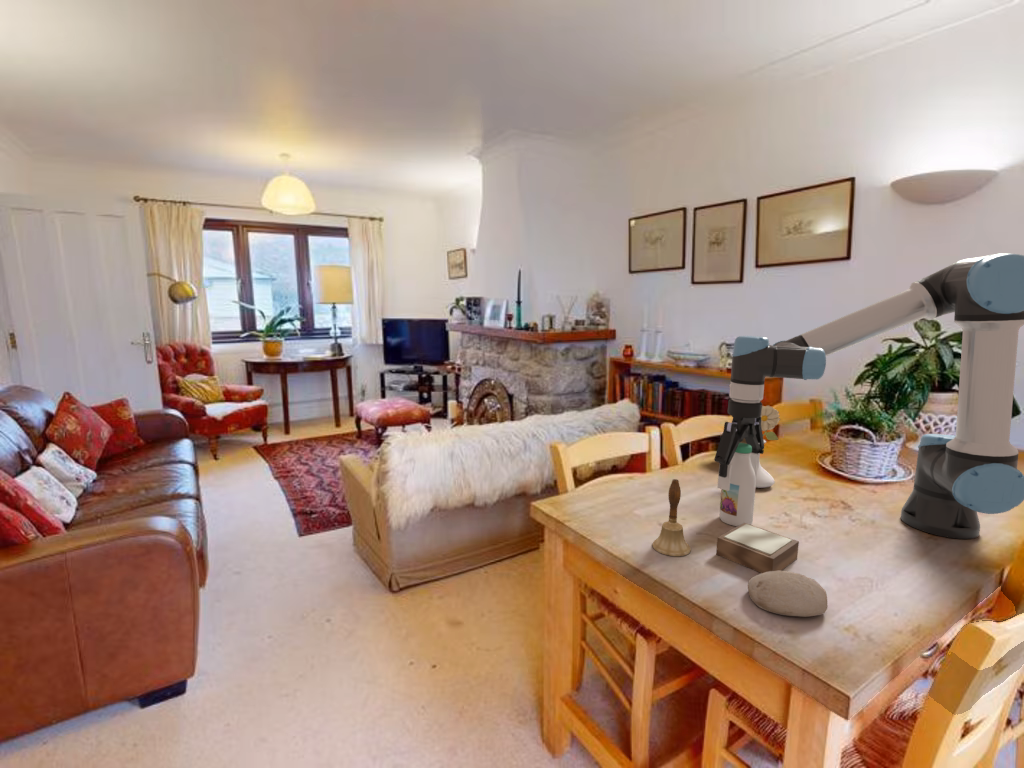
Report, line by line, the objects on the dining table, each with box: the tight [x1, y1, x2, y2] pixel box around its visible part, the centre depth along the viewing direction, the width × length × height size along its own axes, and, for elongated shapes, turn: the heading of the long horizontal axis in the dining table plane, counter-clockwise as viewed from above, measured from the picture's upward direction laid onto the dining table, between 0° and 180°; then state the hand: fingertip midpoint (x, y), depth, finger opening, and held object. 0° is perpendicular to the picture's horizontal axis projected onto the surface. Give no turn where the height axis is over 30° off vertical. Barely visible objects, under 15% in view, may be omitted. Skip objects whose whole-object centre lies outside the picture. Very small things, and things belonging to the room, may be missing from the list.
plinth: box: [716, 523, 800, 574], centre depth 111 cm, size 12×12×4 cm
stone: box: [747, 570, 829, 618], centre depth 94 cm, size 13×10×8 cm
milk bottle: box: [719, 443, 756, 527], centre depth 128 cm, size 8×8×20 cm
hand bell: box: [651, 478, 692, 557], centre depth 114 cm, size 8×8×16 cm
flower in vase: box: [755, 405, 781, 489], centre depth 153 cm, size 13×11×25 cm
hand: (737, 483), depth 128 cm, fingers open, 13 cm apart
